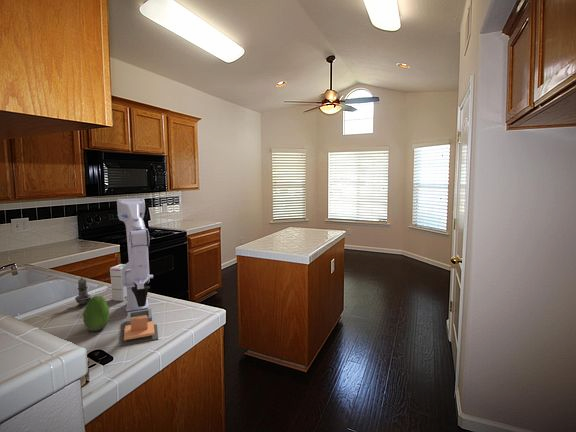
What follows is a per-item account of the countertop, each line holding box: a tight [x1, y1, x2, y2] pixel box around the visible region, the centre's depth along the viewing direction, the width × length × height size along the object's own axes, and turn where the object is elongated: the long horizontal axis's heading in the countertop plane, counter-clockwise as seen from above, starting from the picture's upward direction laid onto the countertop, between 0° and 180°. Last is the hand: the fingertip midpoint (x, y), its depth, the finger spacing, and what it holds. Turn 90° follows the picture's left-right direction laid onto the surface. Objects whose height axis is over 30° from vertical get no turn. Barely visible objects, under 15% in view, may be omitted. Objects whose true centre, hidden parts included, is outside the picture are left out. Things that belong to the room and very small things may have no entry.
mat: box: [120, 323, 159, 347], centre depth 108 cm, size 11×11×1 cm
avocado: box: [82, 295, 111, 332], centre depth 111 cm, size 8×8×12 cm
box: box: [126, 308, 153, 325], centre depth 117 cm, size 8×8×3 cm
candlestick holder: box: [74, 276, 92, 309], centre depth 131 cm, size 6×6×12 cm
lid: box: [124, 315, 155, 340], centre depth 108 cm, size 9×9×6 cm
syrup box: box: [109, 263, 131, 302], centre depth 139 cm, size 6×6×14 cm
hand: (141, 301), depth 113 cm, fingers open, 7 cm apart
